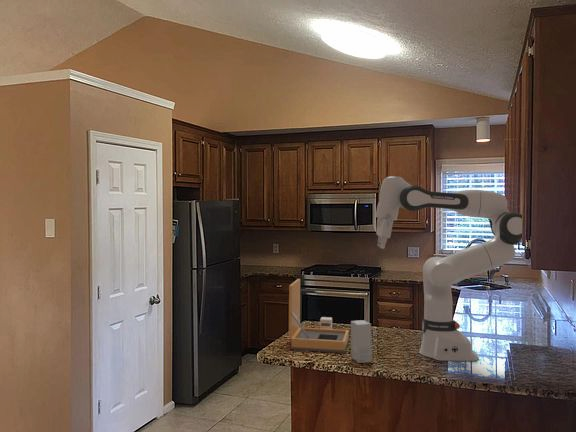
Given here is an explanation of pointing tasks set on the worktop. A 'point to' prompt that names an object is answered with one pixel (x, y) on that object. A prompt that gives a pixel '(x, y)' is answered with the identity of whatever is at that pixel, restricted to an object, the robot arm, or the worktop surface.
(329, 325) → the plate
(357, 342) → the skincare box
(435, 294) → the robot arm
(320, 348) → the equipment case
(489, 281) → the worktop surface
